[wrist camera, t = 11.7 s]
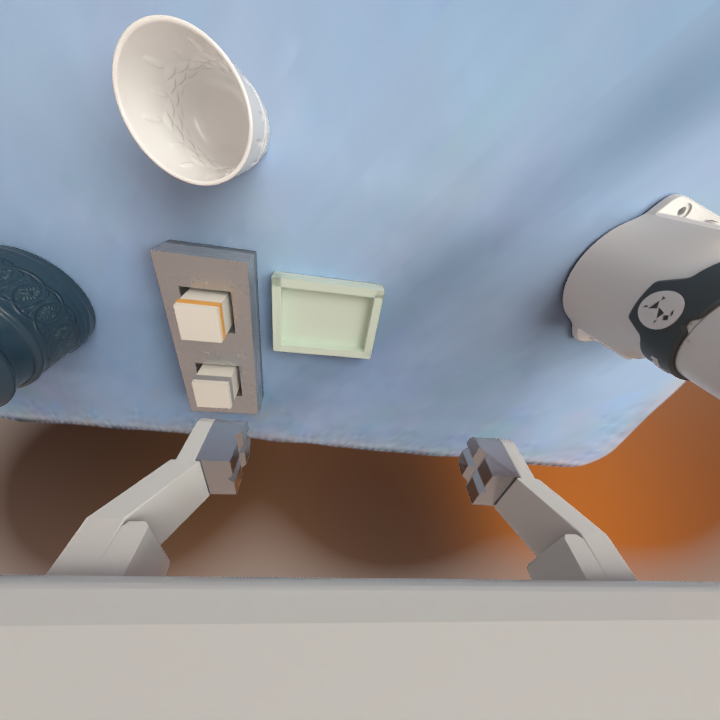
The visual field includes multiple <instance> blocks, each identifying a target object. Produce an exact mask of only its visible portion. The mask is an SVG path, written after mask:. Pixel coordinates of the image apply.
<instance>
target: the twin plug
mask: <svg viewBox="0 0 720 720" xmlns="http://www.w3.org/2000/svg"><path fill="white" fill-rule="evenodd" d="M240 385H241V379H240V370H239V366H231V365H218V364H204V363H203V365H202V366H201V368H200V370H199V371H198V373H197V375H195V377H194V378H193V381H192V386H193V391H194V395H195V399H196V403H197V407H210V408H228V409H231V407H232V406H233V404H234V400H235V397H236V395H237V392H238V390H239V387H240Z"/></svg>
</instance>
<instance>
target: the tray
mask: <svg viewBox="0 0 720 720" xmlns="http://www.w3.org/2000/svg"><path fill="white" fill-rule="evenodd" d="M384 292H385V290H384V287H383V285H382V284H374V283H366V282H358V281H350V280H342V279H334V278H326V277H318V276H310V275H302V274H294V273H286V272H278V271H274V273H273V275H272V318H273V351H281V352H293V353H304V354H316V355H328V356H340V357H352V358H363V359H370V357H371V352H372V348H373V343H374V338H375V334H376V329H377V325H378V320H379V315H380V311H381V306H382V301H383V297H384Z"/></svg>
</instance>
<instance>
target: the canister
mask: <svg viewBox="0 0 720 720" xmlns="http://www.w3.org/2000/svg"><path fill="white" fill-rule="evenodd" d="M94 325H95V315H94V311H93V308H92V306H91V303H90V301H89V300H88V298H87V296H86V295H85V293H84V292H83V291H82V290H81V288H80V287H79V286H78V285H77V284H76V283H75V282H74V281H73V280H72V279H71V278H70V277H69V276H68V275H66V274H65V273H64V272H63V271H61V270H60V269H59V268H57V267H56V266H54V265H53V264H51V263H50V262H48V261H46V260H44V259H42V258H40V257H38V256H36V255H34V254H32V253H29V252H27V251H24V250H21V249H18V248H14V247H10V246H4V245H0V407H1V406H3V405H5V404H6V403H7V402H9V401H10V400H11V399H12V397H13V396H14V394H15V391H16V388H20V387H24V386H27V385H29V384H31V383H33V382H34V381H35V380H37V379H38V378H39V377H40V375H41V374H42V373H43V372H44V371H46V370H47V369H48V368H50V367H51V366H52V365H53V364H55V363H56V362H57V361H59V360H60V359H61V358H63V357H64V356H65V355H67V354H68V353H71V352H73V351H75V350H76V349H77V348H79V347H80V346H81V345H82V344H83V343H84V342H85V341H86V340H87V339H88V337H89V335H90V334H91V333H92V331H93V329H94Z"/></svg>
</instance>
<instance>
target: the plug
mask: <svg viewBox="0 0 720 720" xmlns="http://www.w3.org/2000/svg"><path fill="white" fill-rule="evenodd" d="M173 306H174V311H175V315H176V319H177V323H178V327H179V331H180V336H181V340H192V341H204V342H216V343H222V341H223V340H224V339H225V338H226V335H227V333H228V331H229V329H230V328H231V326H232V324H233V323H234V315H233V306H232V297H231V292H227V291H218V290H209V289H200V288H190V289H189V290H188V291H187V292H186V293H185V294H184V295H183V296H182V297H181V298H179V299H177V300H176V301H175V303H174V304H173Z"/></svg>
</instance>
